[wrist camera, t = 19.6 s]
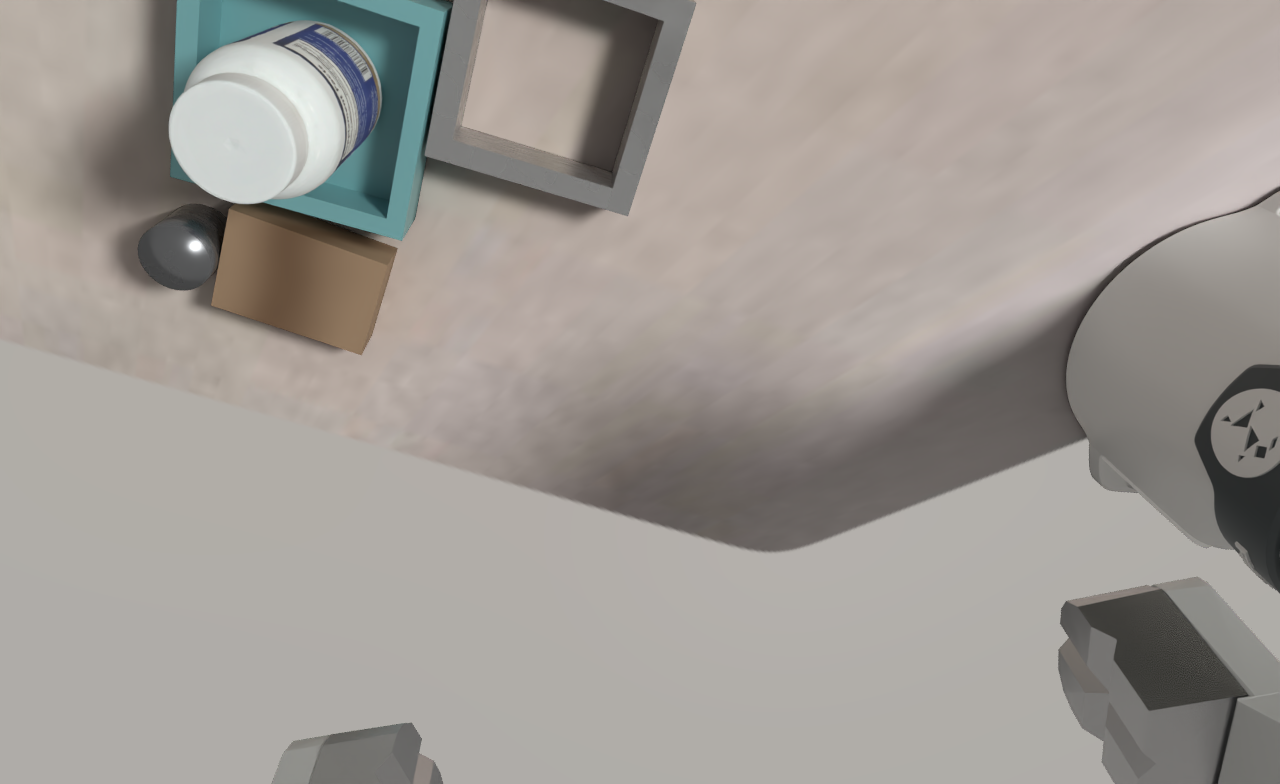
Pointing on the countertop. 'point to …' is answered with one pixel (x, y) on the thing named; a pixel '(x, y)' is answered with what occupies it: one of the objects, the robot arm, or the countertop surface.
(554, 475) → the countertop surface
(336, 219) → the tray
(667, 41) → the collar
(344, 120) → the pill bottle
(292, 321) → the tan cardboard-like brick
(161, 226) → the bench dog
